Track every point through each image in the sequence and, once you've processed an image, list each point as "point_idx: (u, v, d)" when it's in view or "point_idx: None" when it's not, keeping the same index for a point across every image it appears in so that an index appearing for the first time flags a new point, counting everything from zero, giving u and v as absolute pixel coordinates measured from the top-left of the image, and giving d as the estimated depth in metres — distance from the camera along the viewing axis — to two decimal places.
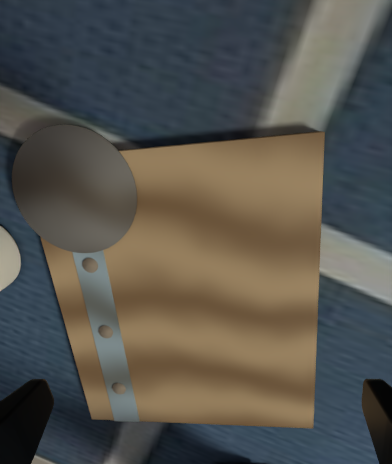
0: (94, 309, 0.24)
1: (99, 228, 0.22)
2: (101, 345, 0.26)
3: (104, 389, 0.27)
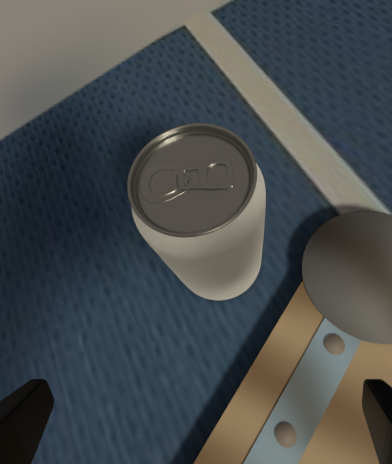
0: (295, 395, 0.18)
1: (376, 317, 0.19)
2: (261, 450, 0.18)
3: None
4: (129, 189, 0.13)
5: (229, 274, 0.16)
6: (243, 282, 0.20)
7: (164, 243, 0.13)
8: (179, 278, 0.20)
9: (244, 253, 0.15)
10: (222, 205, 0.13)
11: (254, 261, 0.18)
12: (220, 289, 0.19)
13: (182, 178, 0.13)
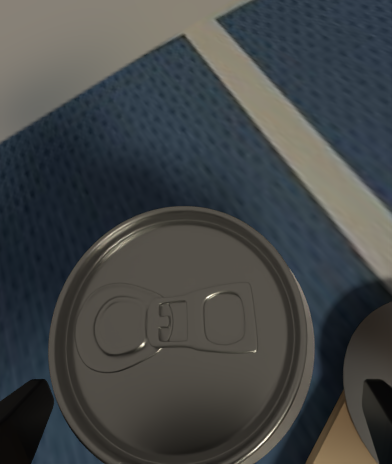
0: None
1: None
2: None
3: None
4: (52, 341, 0.07)
5: None
6: None
7: None
8: None
9: None
10: (234, 395, 0.06)
11: None
12: None
13: (156, 317, 0.07)
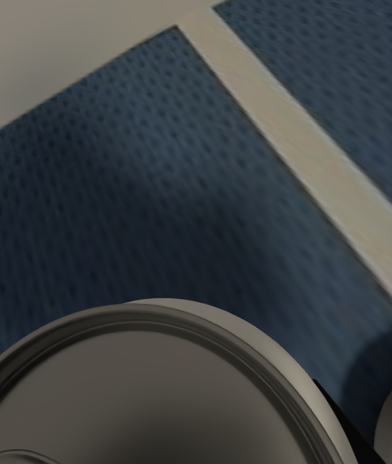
0: None
1: None
2: None
3: None
4: None
5: None
6: None
7: None
8: None
9: None
10: None
11: None
12: None
13: None
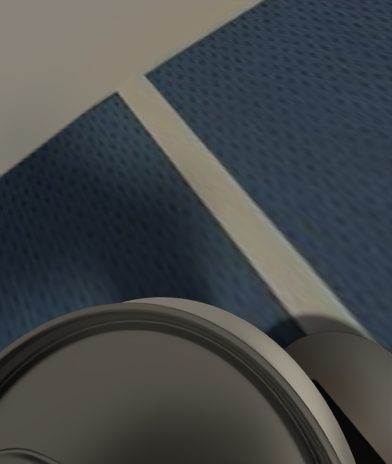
0: None
1: None
2: None
3: None
4: None
5: None
6: None
7: None
8: None
9: None
10: None
11: None
12: None
13: None
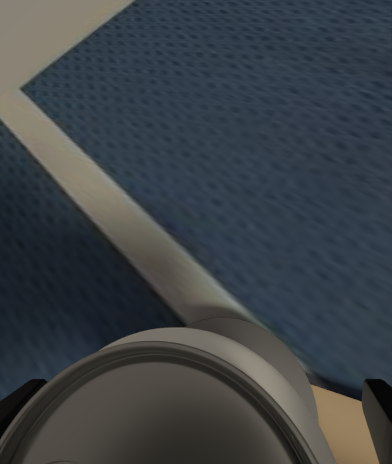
0: None
1: None
2: None
3: None
4: None
5: None
6: None
7: None
8: None
9: None
10: None
11: None
12: None
13: None
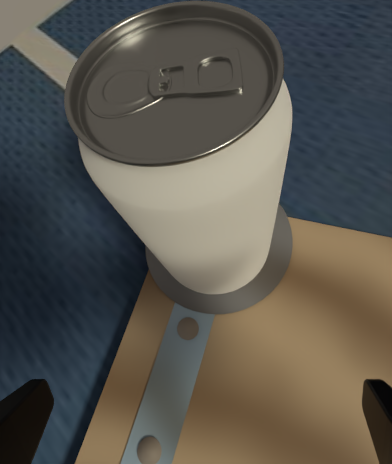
0: (154, 400, 0.16)
1: None
2: None
3: None
4: (67, 95, 0.08)
5: (229, 251, 0.11)
6: (247, 268, 0.14)
7: (123, 185, 0.08)
8: (160, 261, 0.14)
9: (254, 215, 0.09)
10: (222, 118, 0.07)
11: (265, 236, 0.12)
12: (215, 277, 0.13)
13: (157, 81, 0.08)
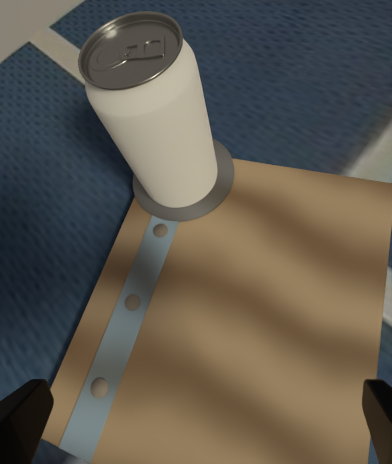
0: (137, 274, 0.24)
1: None
2: (117, 319, 0.23)
3: (80, 385, 0.21)
4: (79, 60, 0.16)
5: (172, 156, 0.19)
6: (194, 180, 0.22)
7: (106, 104, 0.16)
8: (138, 176, 0.22)
9: (180, 127, 0.17)
10: (153, 68, 0.15)
11: (199, 153, 0.20)
12: (171, 183, 0.21)
13: (124, 52, 0.16)
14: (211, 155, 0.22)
